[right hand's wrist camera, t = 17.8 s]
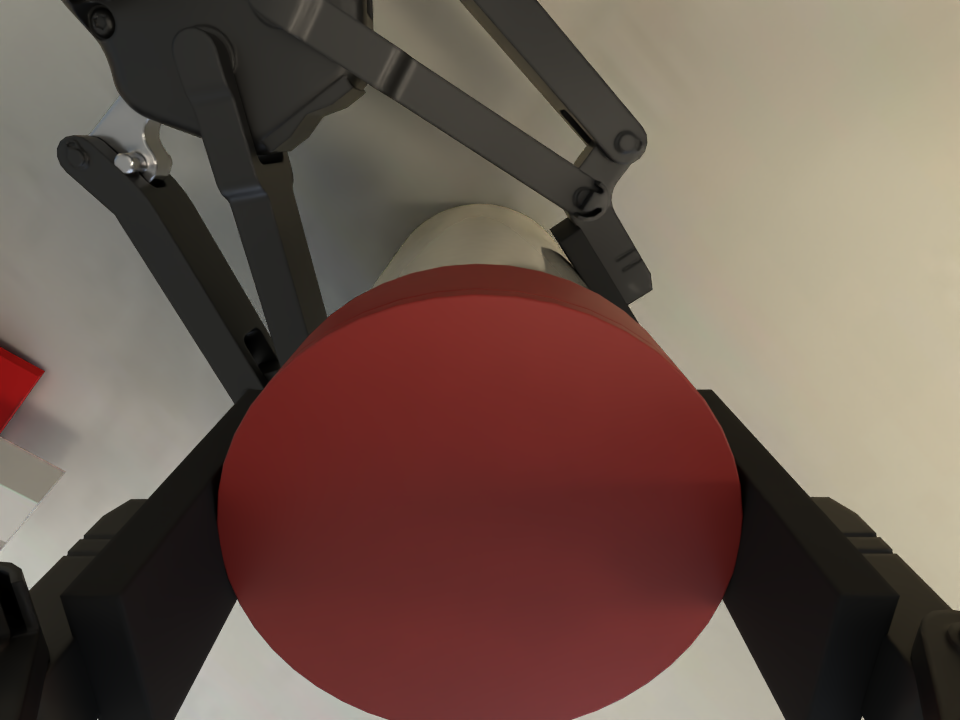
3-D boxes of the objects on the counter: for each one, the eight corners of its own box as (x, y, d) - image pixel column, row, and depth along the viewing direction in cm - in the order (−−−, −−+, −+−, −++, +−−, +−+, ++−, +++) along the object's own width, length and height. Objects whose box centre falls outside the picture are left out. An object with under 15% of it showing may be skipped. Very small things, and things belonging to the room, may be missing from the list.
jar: (468, 161, 25) (447, 204, 9) (610, 287, 26) (797, 504, 11) (351, 308, 27) (172, 547, 11) (489, 415, 29) (501, 746, 13)
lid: (320, 661, 14) (292, 756, 12) (205, 299, 11) (139, 339, 9) (700, 619, 14) (741, 709, 12) (692, 229, 11) (747, 252, 9)
